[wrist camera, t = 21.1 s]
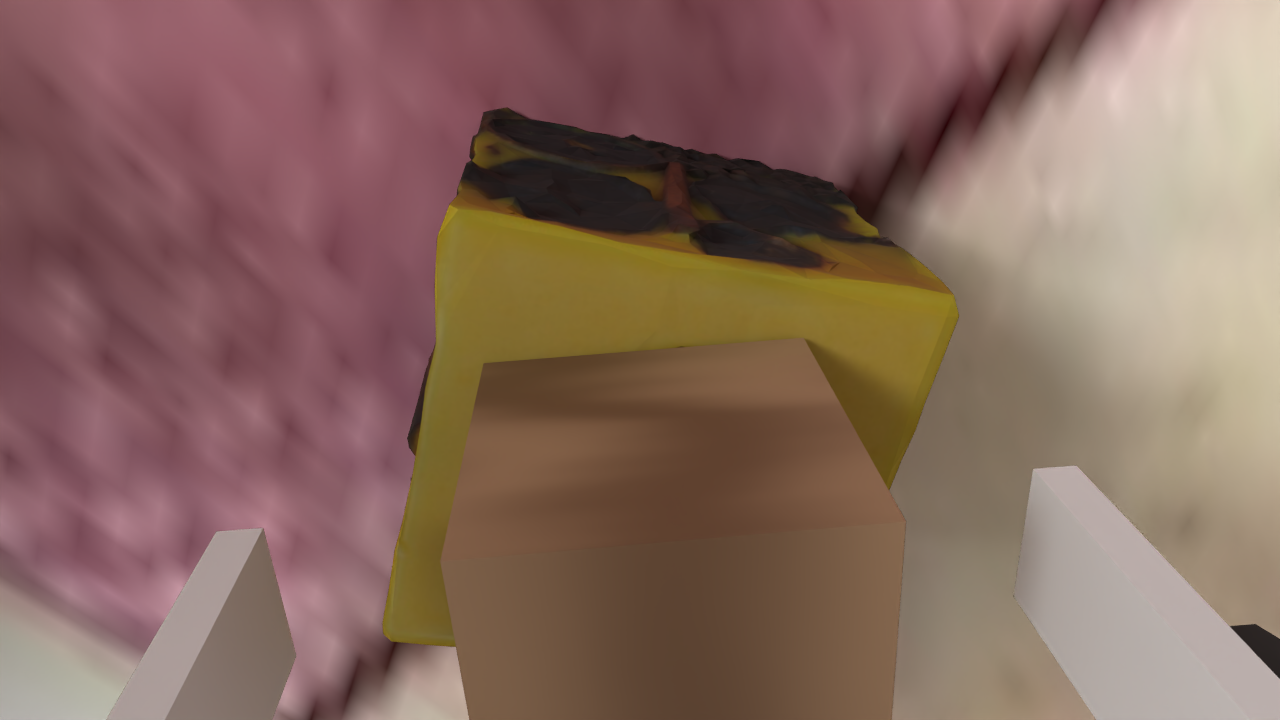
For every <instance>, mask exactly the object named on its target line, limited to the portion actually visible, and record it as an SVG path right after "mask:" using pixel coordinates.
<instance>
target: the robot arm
mask: <svg viewBox="0 0 1280 720" xmlns="http://www.w3.org/2000/svg"><path fill="white" fill-rule="evenodd" d="M1013 596H1014V598H1015V599H1016V601H1017V602H1018V604H1019V605H1020V607H1021V608H1022V610H1023V611H1024V613H1025V614H1026V616H1027V617H1028V619H1029V620H1030V622H1031V623H1032V625H1033V626H1034V628H1035V629H1036V631H1037V632H1038V634H1039V635H1040V637H1041V638H1042V640H1043V641H1044V643H1045V644H1046V646H1047V647H1048V649H1049V650H1050V652H1051V653H1052V655H1053V656H1054V658H1055V659H1056V661H1057V662H1058V664H1059V665H1060V667H1061V668H1062V670H1063V671H1064V673H1065V674H1066V676H1067V677H1068V679H1069V680H1070V682H1071V683H1072V685H1073V686H1074V688H1075V689H1076V690H1077V692H1078V693H1079V695H1080V696H1081V698H1082V699H1083V701H1084V702H1085V704H1086V705H1087V707H1088V708H1089V710H1090V711H1091V713H1092V714H1093V716H1094V717H1095V719H1096V720H1280V639H1279V638H1277V637H1276V636H1274V635H1272V634H1271V633H1269V632H1267V631H1266V630H1264V629H1262V628H1261V627H1259V626H1258V625H1256V624H1251V625H1239V626H1229V625H1228V624H1227V623H1226V622H1225V621H1224V620H1223V619H1222V618H1221V617H1220V616H1219V615H1218V614H1217V613H1216V612H1215V611H1214V610H1213V608H1212V607H1211V606H1210V605H1209V604H1208V603H1207V602H1206V601H1205V600H1204V599H1203V598H1202V597H1201V596H1200V595H1199V594H1198V593H1197V592H1196V591H1195V590H1194V589H1193V587H1192V586H1191V585H1190V584H1189V583H1188V582H1187V581H1186V580H1185V579H1184V578H1183V577H1182V576H1181V575H1180V574H1179V573H1178V572H1177V571H1176V570H1175V569H1174V568H1173V566H1172V565H1171V564H1170V563H1169V562H1168V561H1167V560H1166V559H1165V558H1164V557H1163V556H1162V555H1161V554H1160V553H1159V552H1158V551H1157V550H1156V549H1155V548H1154V546H1153V545H1152V544H1151V543H1150V542H1149V541H1148V540H1147V539H1146V538H1145V537H1144V536H1143V535H1142V534H1141V533H1140V532H1139V531H1138V530H1137V529H1136V528H1135V527H1134V525H1133V524H1132V523H1131V522H1130V521H1129V520H1128V519H1127V518H1126V517H1125V516H1124V515H1123V514H1122V513H1121V512H1120V511H1119V510H1118V509H1117V508H1116V507H1115V506H1114V504H1113V503H1112V502H1111V501H1110V500H1109V499H1108V498H1107V497H1106V496H1105V495H1104V494H1103V493H1102V492H1101V491H1100V490H1099V489H1098V488H1097V487H1096V486H1095V485H1094V483H1093V482H1092V481H1091V480H1090V479H1089V478H1088V477H1087V476H1086V475H1085V474H1084V473H1083V472H1082V471H1081V470H1080V469H1079V468H1078V467H1077V466H1076V465H1075V466H1062V467H1049V468H1036V469H1033V473H1032V479H1031V486H1030V492H1029V498H1028V505H1027V511H1026V518H1025V524H1024V531H1023V537H1022V543H1021V550H1020V556H1019V563H1018V569H1017V576H1016V582H1015V588H1014V595H1013ZM295 658H296V652H295V648H294V645H293V641H292V637H291V633H290V629H289V625H288V621H287V618H286V614H285V610H284V606H283V602H282V598H281V595H280V591H279V587H278V583H277V579H276V575H275V571H274V568H273V564H272V560H271V556H270V552H269V548H268V544H267V541H266V537H265V533H264V529H263V528H255V529H242V530H229V531H216V533H215V535H214V537H213V538H212V540H211V542H210V543H209V545H208V547H207V548H206V550H205V552H204V554H203V555H202V557H201V559H200V560H199V562H198V564H197V565H196V567H195V569H194V571H193V572H192V574H191V576H190V577H189V579H188V581H187V583H186V584H185V586H184V588H183V589H182V591H181V593H180V594H179V596H178V598H177V600H176V601H175V603H174V605H173V606H172V608H171V610H170V611H169V613H168V615H167V617H166V618H165V620H164V622H163V623H162V625H161V627H160V629H159V630H158V632H157V634H156V635H155V637H154V639H153V640H152V642H151V644H150V646H149V647H148V649H147V651H146V652H145V654H144V656H143V657H142V659H141V661H140V663H139V664H138V666H137V668H136V669H135V671H134V673H133V674H132V676H131V678H130V680H129V681H128V683H127V685H126V686H125V688H124V690H123V692H122V693H121V695H120V697H119V698H118V700H117V702H116V703H115V705H114V707H113V709H112V710H111V712H110V714H109V715H108V717H107V719H106V720H272V719H273V716H274V714H275V711H276V708H277V706H278V703H279V700H280V698H281V695H282V692H283V690H284V687H285V684H286V682H287V679H288V677H289V674H290V671H291V669H292V666H293V663H294V661H295Z"/></svg>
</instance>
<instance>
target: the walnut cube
mask: <svg viewBox="0 0 1280 720" xmlns="http://www.w3.org/2000/svg"><path fill="white" fill-rule="evenodd" d="M905 529H906V520H905V519H904V517H903V515H902V513H901V511H900V510H899V508H898V506H897V504H896V503H895V501H894V499H893V497H892V495H891V494H890V492H889V490H888V488H887V486H886V485H885V483H884V481H883V479H882V477H881V476H880V474H879V472H878V470H877V468H876V467H875V465H874V463H873V461H872V460H871V458H870V456H869V454H868V452H867V451H866V449H865V447H864V445H863V443H862V442H861V440H860V438H859V436H858V434H857V433H856V431H855V429H854V427H853V425H852V424H851V422H850V420H849V418H848V417H847V415H846V413H845V411H844V409H843V408H842V406H841V404H840V402H839V400H838V399H837V397H836V395H835V393H834V391H833V390H832V388H831V386H830V384H829V382H828V381H827V379H826V377H825V375H824V373H823V372H822V370H821V368H820V366H819V365H818V363H817V361H816V359H815V357H814V356H813V354H812V352H811V350H810V348H809V347H808V345H807V343H806V341H805V339H804V338H794V339H781V340H769V341H756V342H743V343H731V344H718V345H706V346H693V347H681V348H668V349H656V350H643V351H630V352H618V353H605V354H593V355H580V356H568V357H555V358H542V359H530V360H517V361H505V362H492V363H483V368H482V372H481V377H480V381H479V386H478V391H477V395H476V400H475V404H474V409H473V413H472V418H471V423H470V427H469V432H468V436H467V441H466V446H465V450H464V455H463V459H462V464H461V469H460V473H459V478H458V482H457V487H456V492H455V496H454V501H453V505H452V510H451V514H450V519H449V524H448V528H447V533H446V537H445V542H444V547H443V551H442V556H441V560H440V563H441V568H442V574H443V579H444V585H445V590H446V595H447V601H448V606H449V612H450V617H451V623H452V628H453V633H454V639H455V644H456V650H457V655H458V661H459V666H460V671H461V677H462V682H463V688H464V693H465V699H466V704H467V709H468V715H469V720H892V706H893V693H894V679H895V665H896V652H897V638H898V624H899V611H900V597H901V583H902V570H903V556H904V542H905Z"/></svg>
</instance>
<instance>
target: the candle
mask: <svg viewBox="0 0 1280 720" xmlns="http://www.w3.org/2000/svg"><path fill="white" fill-rule="evenodd" d="M470 158H471V161H470V162H468V163H466V166H465V169H464V172H463V174H462V177H461V180H460V183H459V186H458V189H457V197H456V198H455V199H454V200H453V201H452V202H451V203H450V205H449V207H448V210H447V212H446V215H445V218H444V220H443V223H442V226H441V228H440V231H439V234H438V236H437V252H436V271H435V319H436V343H435V347H434V350H433V352H432V354H431V356H430V358H429V363H428V366H427V368H426V372H425V375H424V379H423V383H422V387H421V391H420V395H419V399H418V402H417V406H416V409H415V413H414V417H413V420H412V424H411V427H410V431H409V434H408V438H407V439H408V444H409V448H410V449H411V451H412V452H413V453H414V455H415V456H416V457H415V463H414V469H413V475H412V478H411V484H410V489H409V493H408V498H407V503H406V507H405V512H404V517H403V521H402V525H401V529H400V532H399V536H398V540H397V544H396V547H395V551H394V558H393V565H392V572H391V578H390V585H389V591H388V596H387V601H386V607H385V612H384V617H383V634H384V635H385V636H386V637H387V638H389V639H390V640H391V641H394V642H404V643H414V644H424V645H436V646H451V647H456V644H455V639H454V633H453V628H452V623H451V617H450V612H449V606H448V601H447V595H446V590H445V585H444V579H443V574H442V568H441V563H440V560H441V556H442V551H443V547H444V542H445V537H446V533H447V528H448V524H449V519H450V514H451V510H452V505H453V501H454V496H455V492H456V487H457V482H458V478H459V473H460V469H461V464H462V459H463V455H464V450H465V446H466V441H467V436H468V432H469V427H470V423H471V418H472V413H473V409H474V404H475V400H476V395H477V391H478V386H479V381H480V377H481V372H482V368H483V363H492V362H505V361H517V360H530V359H542V358H555V357H568V356H580V355H593V354H605V353H618V352H630V351H643V350H656V349H668V348H681V347H693V346H706V345H718V344H731V343H743V342H756V341H769V340H781V339H794V338H804V339H805V341H806V343H807V345H808V347H809V348H810V350H811V352H812V354H813V356H814V357H815V359H816V361H817V363H818V365H819V366H820V368H821V370H822V372H823V373H824V375H825V377H826V379H827V381H828V382H829V384H830V386H831V388H832V390H833V391H834V393H835V395H836V397H837V399H838V400H839V402H840V404H841V406H842V408H843V409H844V411H845V413H846V415H847V417H848V418H849V420H850V422H851V424H852V425H853V427H854V429H855V431H856V433H857V434H858V436H859V438H860V440H861V442H862V443H863V445H864V447H865V449H866V451H867V452H868V454H869V456H870V458H871V460H872V461H873V463H874V465H875V467H876V468H877V470H878V472H879V474H880V476H881V477H882V479H883V481H884V483H885V485H886V486H887V488H888V490H889V489H890V487H891V485H892V482H893V480H894V477H895V475H896V472H897V470H898V467H899V465H900V463H901V460H902V458H903V456H904V454H905V452H906V449H907V447H908V445H909V443H910V441H911V439H912V437H913V435H914V432H915V430H916V427H917V424H918V421H919V418H920V415H921V413H922V410H923V407H924V404H925V401H926V399H927V396H928V394H929V391H930V389H931V386H932V384H933V381H934V379H935V376H936V374H937V371H938V369H939V366H940V364H941V361H942V359H943V356H944V354H945V351H946V349H947V346H948V344H949V341H950V338H951V336H952V333H953V331H954V328H955V325H956V323H957V320H958V318H959V314H958V310H957V306H956V302H955V298H954V295H953V294H952V292H951V291H950V290H949V289H948V288H947V287H946V285H945V284H944V283H943V282H942V281H941V280H940V279H939V278H938V277H936V276H935V275H934V274H933V273H932V272H931V271H930V270H929V269H928V268H927V267H925V266H924V265H923V264H922V263H920V262H919V261H918V260H917V259H916V258H914V257H913V256H912V255H910V254H909V253H908V252H906V251H905V250H904V249H902V248H901V247H899V246H897V245H895V244H894V243H893V242H892V241H891V240H890V239H889V238H880V235H879V233H878V230H877V228H875V227H873V226H872V225H870V224H869V223H867V222H865V221H864V220H863V219H862V218H861V217H860V216H859V215H858V214H857V213H856V212H857V208H858V207H857V206H856V205H855V204H854V203H853V202H852V201H851V200H850V199H849V198H848V197H847V196H846V195H845V194H844V193H843V192H842V191H841V190H839V191H838V190H837V189H836V188H834V185H833V183H832V182H827V181H823V180H821V179H819V178H817V177H810V176H807V175H803V174H800V173H797V172H793V171H789V170H784V169H776V170H772V169H770V168H769V167H767V166H766V165H764V164H763V163H761V162H760V161H754V160H746V159H739V158H738V159H734V160H729V161H727V160H725V159H724V158H722V157H721V156H719V155H718V154H703V153H701V152H698V151H696V150H693V149H689V150H684V149H682V148H681V147H673V146H671V145H668V144H665V143H660V142H654V141H642V140H641V139H639V138H638V137H636V136H635V135H634V134H633V135H631V136H628V137H625V138H620V137H616V136H611V135H607V134H600V133H593V132H587V131H584V130H582V129H579V128H577V127H571V126H566V125H560V124H555V123H549V122H543V121H537V120H530V119H526V118H525V117H523V116H521V115H519V114H517V113H516V112H514V111H512V110H510V109H509V108H502V109H497V110H492V111H487V112H484V113H483V117H482V121H481V124H480V128H479V131H478V134H477V135H475V136H473V138H472V143H471V147H470Z"/></svg>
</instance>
